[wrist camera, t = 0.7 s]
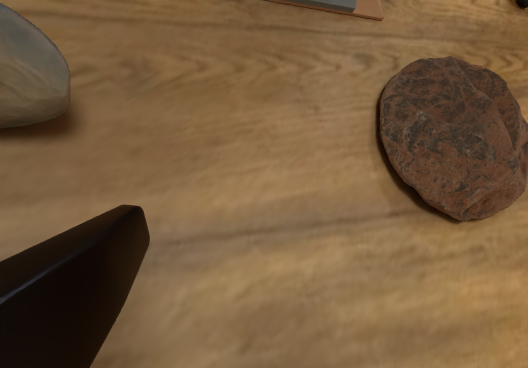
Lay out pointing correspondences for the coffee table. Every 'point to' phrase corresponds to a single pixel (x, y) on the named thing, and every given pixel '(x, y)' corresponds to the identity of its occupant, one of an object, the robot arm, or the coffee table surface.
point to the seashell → (29, 73)
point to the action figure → (523, 3)
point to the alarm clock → (343, 6)
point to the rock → (455, 136)
